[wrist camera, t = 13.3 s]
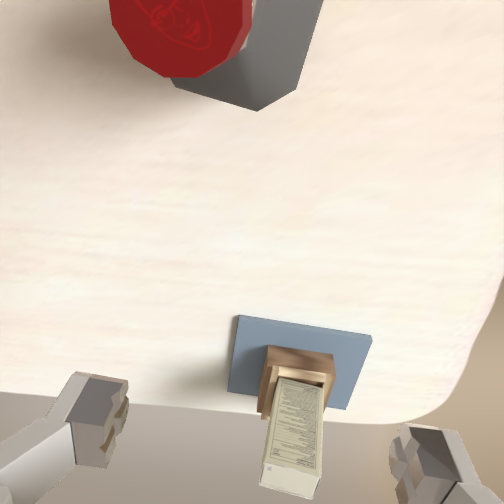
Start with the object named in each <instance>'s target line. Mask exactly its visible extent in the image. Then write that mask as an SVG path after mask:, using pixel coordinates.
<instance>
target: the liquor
mask: <svg viewBox="0 0 504 504" xmlns="http://www.w3.org/2000/svg"><path fill="white" fill-rule="evenodd" d="M322 3H323V0H109V5H110V12H111V19H112V25H113V26H114V28H115V30H116V31H117V33H118V34H119V36H120V38H121V39H122V41H123V42H124V44H125V45H126V47H127V49H128V50H129V52H130V53H131V55H132V57H133V58H134V59H135V60H137V61H139V62H140V63H142V64H143V65H145V66H147V67H148V68H150V69H152V70H153V71H155V72H156V73H158V74H160V75H161V76H163V77H170V79H171V80H172V82H173V84H174V85H175V87H177V88H180V89H184V90H187V91H190V92H193V93H197V94H200V95H203V96H207V97H210V98H213V99H217V100H220V101H223V102H227V103H230V104H233V105H237V106H240V107H243V108H247V109H250V110H253V111H256V112H257V111H259V110H261V109H263V108H264V107H266V106H268V105H269V104H271V103H273V102H275V101H276V100H278V99H280V98H281V97H283V96H285V95H287V94H288V93H290V92H292V91H294V90H295V89H296V87H297V84H298V81H299V78H300V74H301V71H302V68H303V65H304V61H305V58H306V55H307V52H308V48H309V45H310V42H311V39H312V36H313V32H314V29H315V26H316V23H317V19H318V16H319V13H320V10H321V6H322Z"/></svg>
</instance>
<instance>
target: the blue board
mask: <svg viewBox="0 0 504 504" xmlns="http://www.w3.org/2000/svg"><path fill="white" fill-rule="evenodd" d="M372 341H373V340H372V337H371V335H365V334H359V333H352V332H346V331H340V330H333V329H327V328H320V327H314V326H308V325H301V324H295V323H289V322H282V321H276V320H269V319H263V318H257V317H250V316H244V315H239V321H238V328H237V334H236V340H235V347H234V353H233V359H232V365H231V372H230V378H229V384H228V390H227V392H233V393H239V394H246V395H252V396H258V389H259V384H260V380H261V375H262V370H263V366H264V361H265V356H266V352H267V347H268V344H269V345H275V346H282V347H288V348H294V349H301V350H307V351H314V352H320V353H327V354H333V359H334V365H335V372H336V379H335V382H334V385H333V387H332V390H331V393H330V396H329V399H328V402H327V405H326V407H330V408H336V409H343V410H346V407H347V405H348V402H349V400H350V397H351V395H352V392H353V389H354V387H355V384H356V382H357V379H358V377H359V374H360V371H361V369H362V366H363V364H364V361H365V359H366V356H367V354H368V351H369V348H370V346H371V343H372Z"/></svg>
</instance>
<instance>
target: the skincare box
mask: <svg viewBox="0 0 504 504" xmlns="http://www.w3.org/2000/svg"><path fill="white" fill-rule="evenodd" d="M323 406H324V389H323V388H320V387H316V386H312V385H308V384H304V383H300V382H296V381H293V380H288V379H284V378H278V381H277V385H276V389H275V393H274V398H273V403H272V409H271V415H270V420H269V426H268V431H267V437H266V443H265V448H264V454H263V460H262V466H261V472H260V478H259V485H260V486H264V487H267V488H271V489H274V490H278V491H282V492H286V493H289V494H293V495H296V496H301V497H304V498H308V499H313V497H314V495H315V492H316V490H317V487H318V485H319V483H320V480H321V465H322V464H321V463H322V434H323Z"/></svg>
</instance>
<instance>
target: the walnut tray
mask: <svg viewBox="0 0 504 504" xmlns="http://www.w3.org/2000/svg"><path fill="white" fill-rule="evenodd" d="M278 378H284V379H288V380H293V381H296V382H300V383H304V384H308V385H312V386H316V387H320V388H323V389H324V406H323V413H324V410H325V407H326V405H327V402H328V399H329V396H330V393H331V390H332V387H333V385H334V382H335V379H336V372H335V365H334V359H333V354H327V353H320V352H314V351H307V350H301V349H294V348H288V347H282V346H275V345H269V344H268V347H267V352H266V356H265V361H264V366H263V370H262V375H261V380H260V384H259V389H258V402H257V412H259V413H262V414H261V419H263V420H270V415H271V409H272V403H273V398H274V393H275V389H276V385H277V381H278Z"/></svg>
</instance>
